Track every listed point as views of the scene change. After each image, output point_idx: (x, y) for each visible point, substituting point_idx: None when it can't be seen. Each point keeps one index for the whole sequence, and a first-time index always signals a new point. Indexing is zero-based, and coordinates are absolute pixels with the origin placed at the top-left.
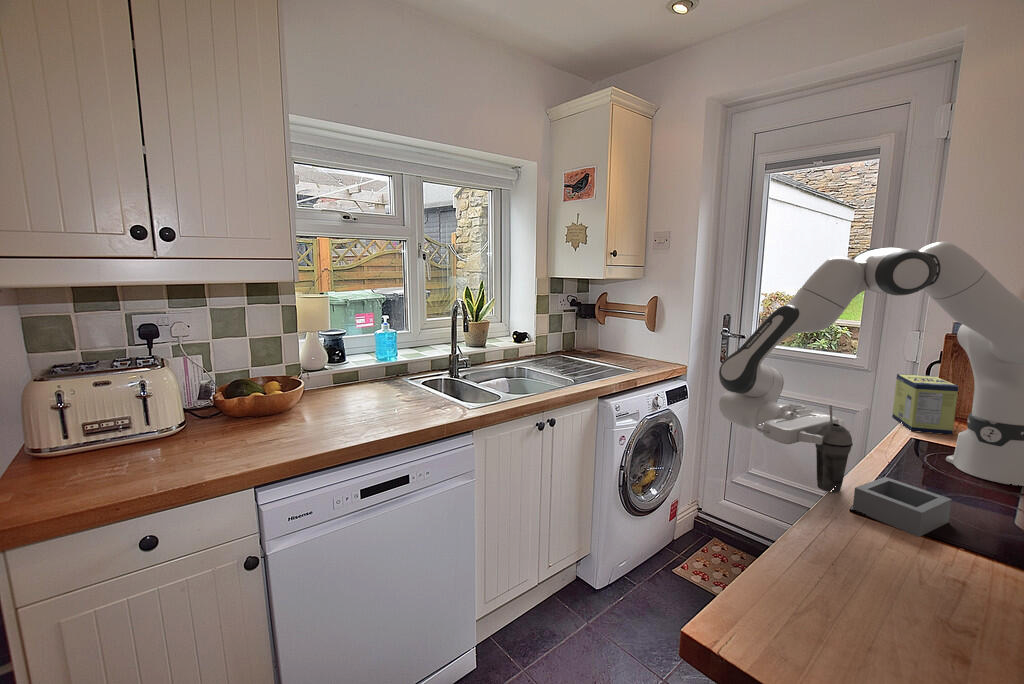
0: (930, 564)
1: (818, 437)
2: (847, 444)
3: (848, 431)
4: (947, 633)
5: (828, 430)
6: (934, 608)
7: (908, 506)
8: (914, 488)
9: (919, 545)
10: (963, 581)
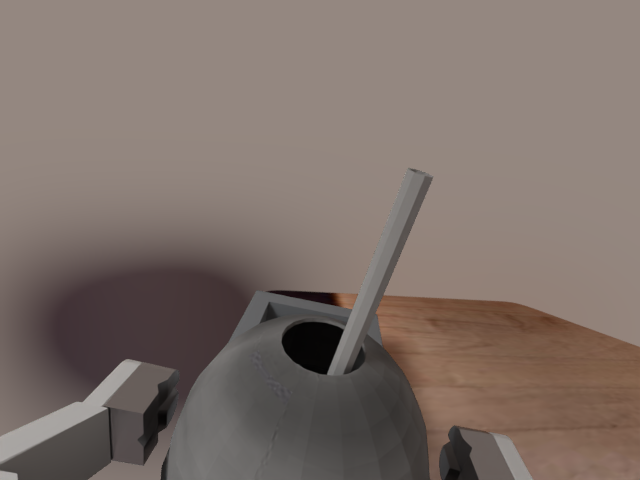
0: (431, 341)
1: (514, 452)
2: (329, 365)
3: (146, 363)
4: (534, 326)
5: (407, 388)
6: (514, 333)
7: (373, 328)
8: (250, 327)
9: (392, 354)
10: (427, 320)
